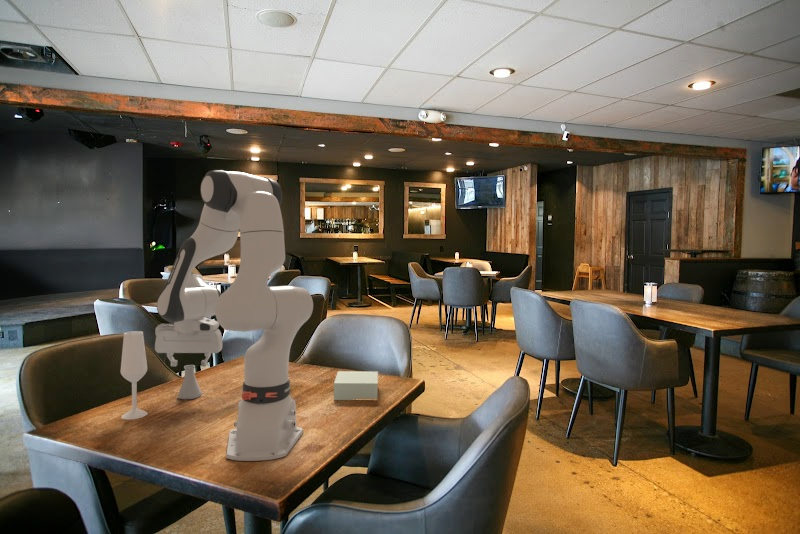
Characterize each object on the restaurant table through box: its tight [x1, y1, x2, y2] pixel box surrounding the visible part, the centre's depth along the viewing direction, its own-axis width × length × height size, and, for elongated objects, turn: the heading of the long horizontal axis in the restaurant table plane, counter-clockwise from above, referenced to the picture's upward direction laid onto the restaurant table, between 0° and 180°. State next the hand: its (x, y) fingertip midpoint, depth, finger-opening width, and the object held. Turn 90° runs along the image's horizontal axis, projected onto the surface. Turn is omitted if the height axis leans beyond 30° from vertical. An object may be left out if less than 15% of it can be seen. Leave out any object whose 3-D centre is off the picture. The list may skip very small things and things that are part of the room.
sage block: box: [333, 370, 379, 401], centre depth 157 cm, size 14×14×6 cm
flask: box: [176, 364, 203, 400], centre depth 152 cm, size 7×7×10 cm
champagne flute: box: [120, 330, 149, 420], centre depth 134 cm, size 7×7×24 cm
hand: (189, 366), depth 152 cm, fingers open, 8 cm apart
